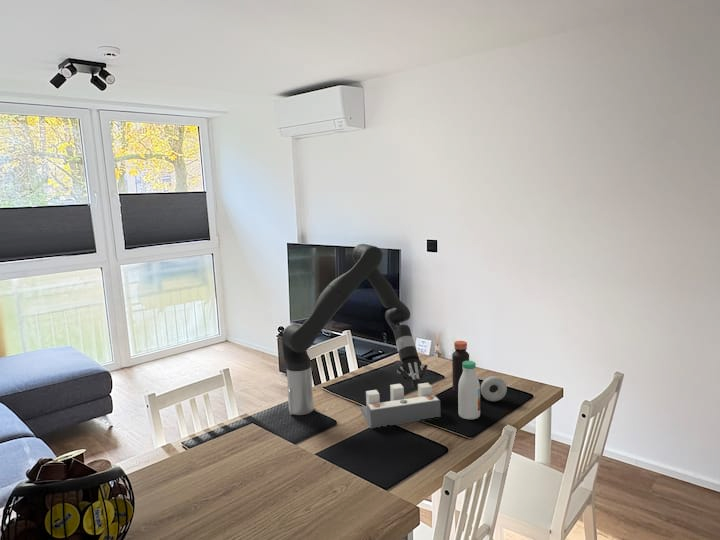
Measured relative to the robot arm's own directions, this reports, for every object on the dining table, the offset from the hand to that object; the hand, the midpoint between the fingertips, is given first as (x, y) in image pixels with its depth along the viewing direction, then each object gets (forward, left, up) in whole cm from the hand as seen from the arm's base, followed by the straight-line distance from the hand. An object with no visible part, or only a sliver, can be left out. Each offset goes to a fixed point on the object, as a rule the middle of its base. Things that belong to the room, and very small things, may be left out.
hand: (417, 389), depth 191 cm
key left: (-20, -8, -3) cm, 22 cm away
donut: (+27, -9, -5) cm, 29 cm away
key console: (-10, -8, -5) cm, 14 cm away
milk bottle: (+13, -17, -5) cm, 22 cm away
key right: (0, -8, -3) cm, 8 cm away
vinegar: (+20, +5, -5) cm, 22 cm away
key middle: (-10, -5, -3) cm, 12 cm away
